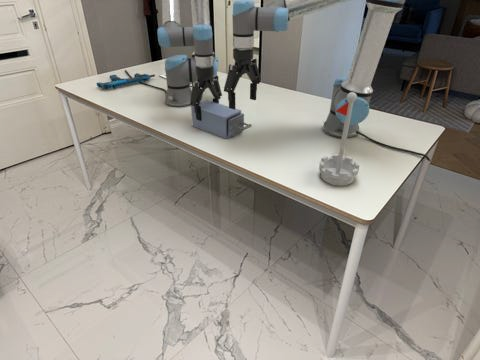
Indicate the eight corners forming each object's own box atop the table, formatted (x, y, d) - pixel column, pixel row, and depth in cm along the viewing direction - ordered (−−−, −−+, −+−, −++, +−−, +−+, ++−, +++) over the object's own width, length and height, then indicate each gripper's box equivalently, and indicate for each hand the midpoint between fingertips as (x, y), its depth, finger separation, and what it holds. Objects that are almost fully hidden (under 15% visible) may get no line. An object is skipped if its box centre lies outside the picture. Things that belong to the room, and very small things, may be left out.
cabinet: (241, 130, 150) (241, 110, 145) (226, 138, 143) (225, 117, 138) (208, 119, 161) (207, 99, 156) (192, 126, 154) (190, 106, 149)
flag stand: (341, 164, 125) (356, 83, 108) (364, 182, 115) (385, 96, 98) (310, 171, 121) (321, 88, 105) (331, 190, 111) (347, 102, 94)
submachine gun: (140, 68, 226) (159, 74, 209) (142, 73, 228) (160, 80, 211) (89, 77, 207) (104, 85, 190) (90, 84, 209) (106, 92, 192)
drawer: (254, 134, 145) (254, 117, 141) (240, 141, 139) (240, 124, 135) (212, 119, 158) (211, 103, 154) (198, 125, 152) (197, 109, 148)
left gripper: (216, 59, 150) (218, 107, 162) (177, 70, 135) (183, 121, 147) (229, 61, 146) (230, 110, 158) (190, 73, 131) (195, 126, 143)
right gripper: (255, 41, 134) (254, 93, 146) (212, 52, 118) (215, 110, 130) (271, 43, 130) (268, 97, 142) (228, 55, 114) (229, 115, 126)
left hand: (207, 116), depth 153 cm, fingers closed on cabinet, 10 cm apart
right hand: (242, 103), depth 136 cm, fingers open, 12 cm apart
